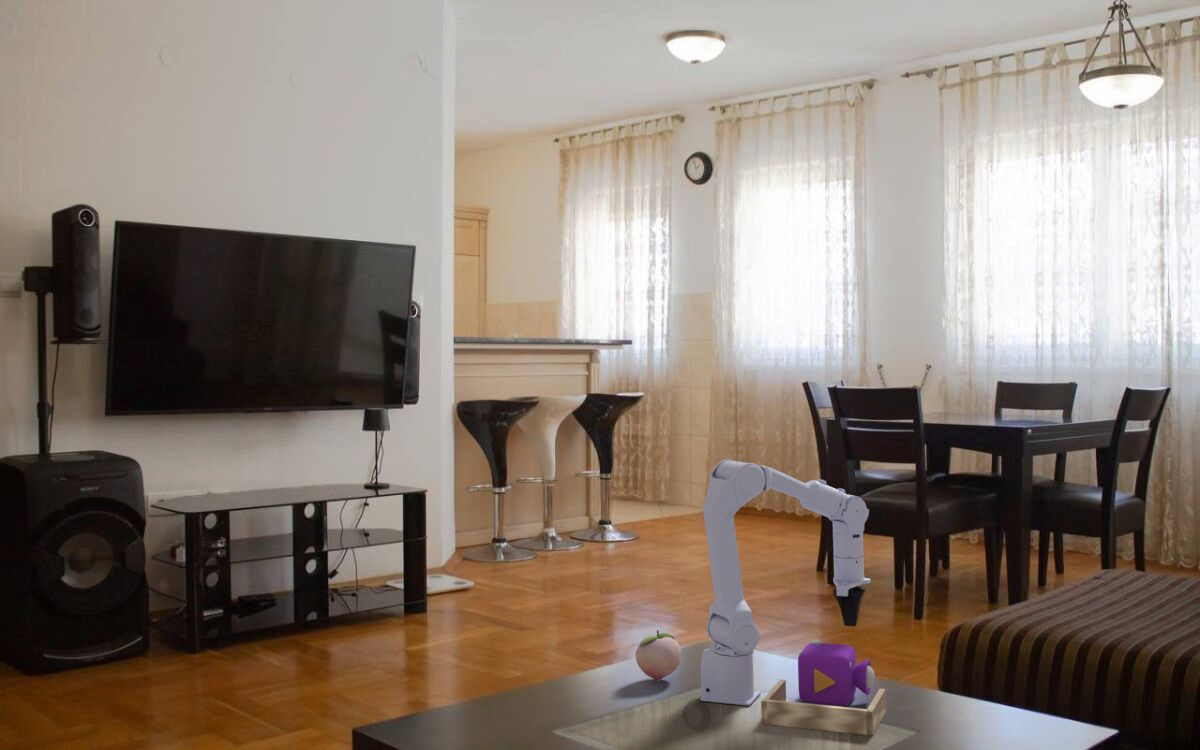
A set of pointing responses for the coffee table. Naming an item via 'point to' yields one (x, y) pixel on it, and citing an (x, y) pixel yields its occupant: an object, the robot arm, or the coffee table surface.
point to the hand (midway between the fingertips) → (850, 625)
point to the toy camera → (832, 674)
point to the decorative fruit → (658, 655)
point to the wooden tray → (821, 713)
